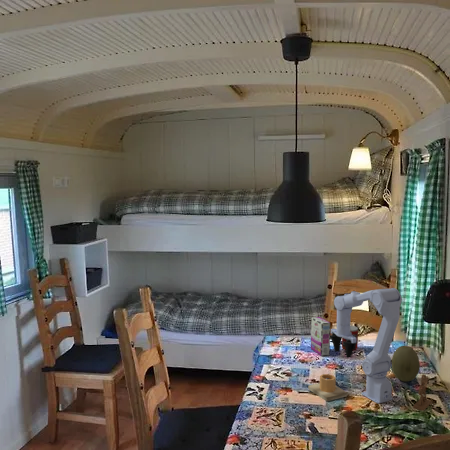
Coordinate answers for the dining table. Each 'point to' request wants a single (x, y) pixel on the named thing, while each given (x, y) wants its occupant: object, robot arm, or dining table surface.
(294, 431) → the dining table surface
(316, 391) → the base block
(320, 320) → the candy bar box
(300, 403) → the dining table surface
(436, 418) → the dining table surface
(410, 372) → the fruit
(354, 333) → the canned food
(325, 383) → the collar
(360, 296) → the robot arm
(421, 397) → the brown figurine
